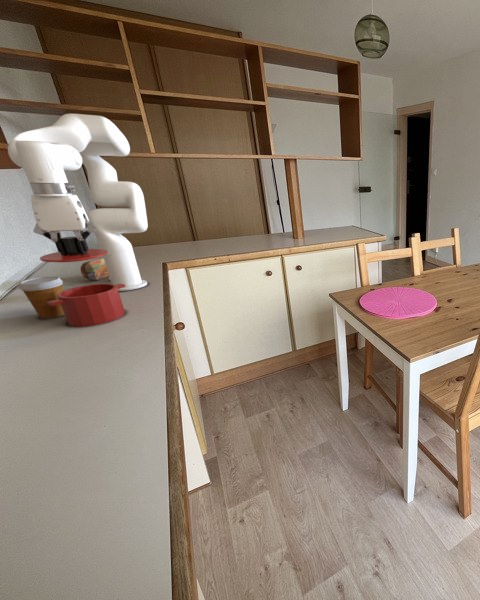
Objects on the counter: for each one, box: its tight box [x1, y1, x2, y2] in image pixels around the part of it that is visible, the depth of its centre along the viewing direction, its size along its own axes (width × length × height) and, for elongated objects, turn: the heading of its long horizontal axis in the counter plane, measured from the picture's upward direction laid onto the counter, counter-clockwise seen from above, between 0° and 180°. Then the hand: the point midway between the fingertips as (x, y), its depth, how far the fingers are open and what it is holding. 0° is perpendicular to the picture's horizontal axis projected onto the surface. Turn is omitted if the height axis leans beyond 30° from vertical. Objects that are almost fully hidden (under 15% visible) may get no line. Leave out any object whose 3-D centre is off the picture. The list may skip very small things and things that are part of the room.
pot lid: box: [39, 236, 108, 263], centre depth 94 cm, size 15×15×6 cm
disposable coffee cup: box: [18, 275, 65, 319], centre depth 101 cm, size 10×10×12 cm
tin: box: [80, 257, 110, 281], centre depth 140 cm, size 15×3×8 cm, turn 179°
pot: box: [47, 283, 126, 328], centre depth 100 cm, size 14×19×10 cm
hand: (74, 253), depth 94 cm, fingers closed on pot lid, 3 cm apart
